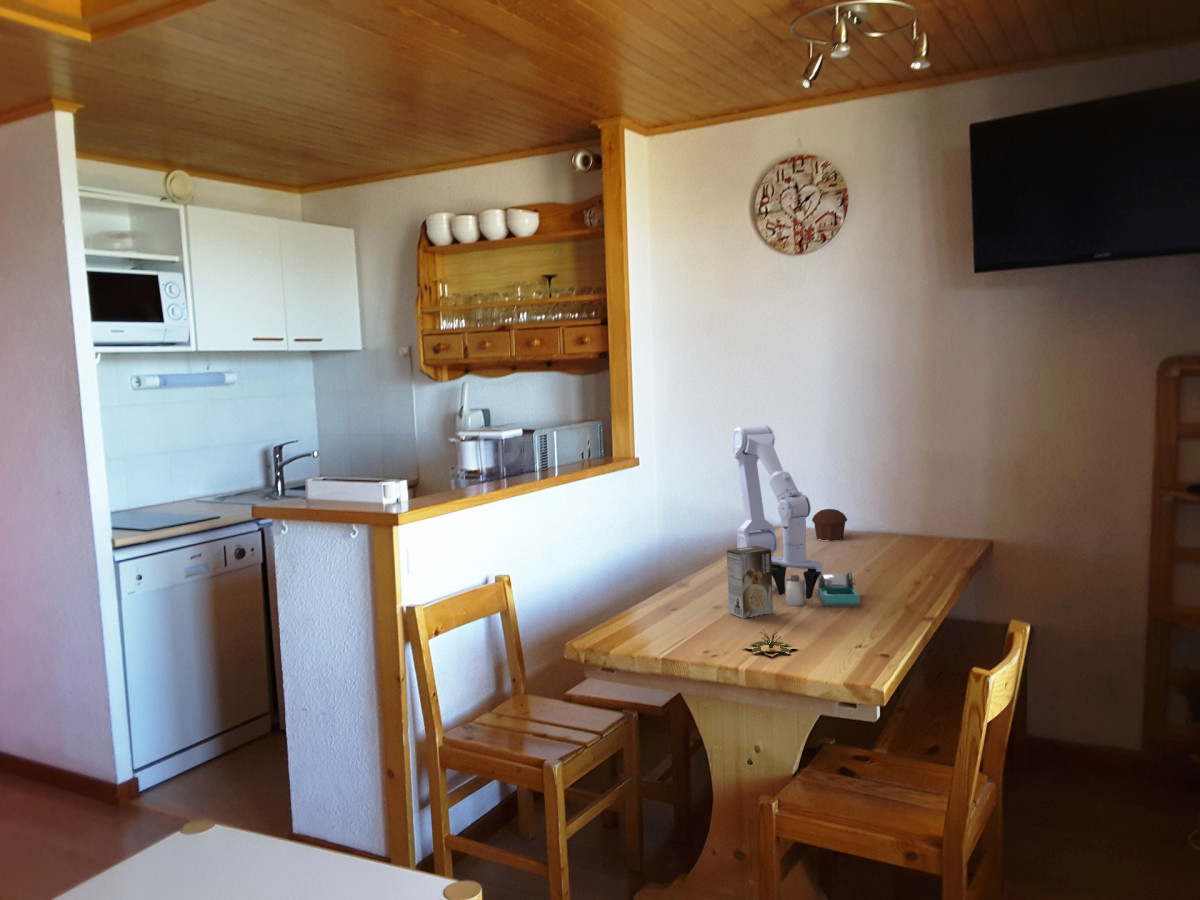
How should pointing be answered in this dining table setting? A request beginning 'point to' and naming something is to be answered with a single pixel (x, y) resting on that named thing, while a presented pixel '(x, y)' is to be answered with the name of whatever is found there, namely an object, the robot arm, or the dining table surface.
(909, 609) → the dining table surface
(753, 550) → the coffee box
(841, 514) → the muffin
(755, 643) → the lily flower
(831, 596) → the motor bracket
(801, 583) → the white capped bottle
